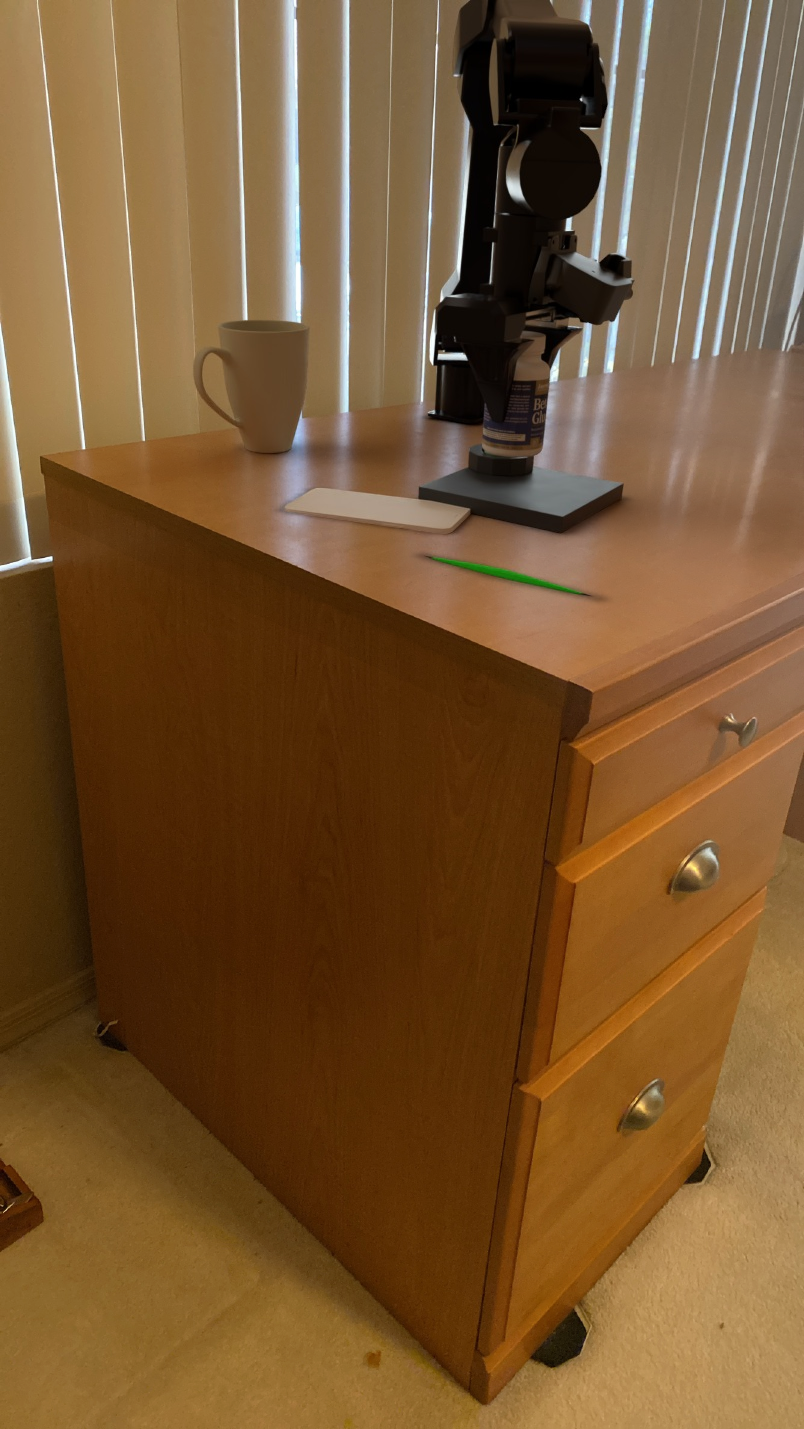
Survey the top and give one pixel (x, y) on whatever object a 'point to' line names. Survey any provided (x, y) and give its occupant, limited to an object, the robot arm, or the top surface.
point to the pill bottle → (522, 407)
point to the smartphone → (380, 510)
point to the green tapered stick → (506, 574)
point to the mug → (261, 379)
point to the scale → (522, 491)
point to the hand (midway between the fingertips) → (513, 416)
